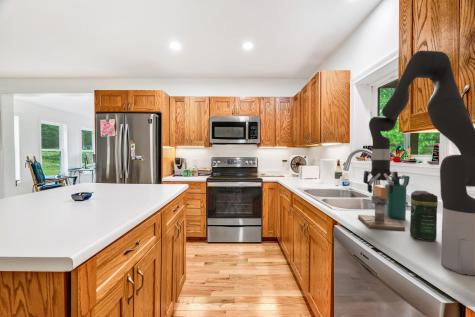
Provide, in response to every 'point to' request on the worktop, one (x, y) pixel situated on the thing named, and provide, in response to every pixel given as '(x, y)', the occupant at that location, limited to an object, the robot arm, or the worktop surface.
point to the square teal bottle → (397, 199)
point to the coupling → (380, 195)
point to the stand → (380, 220)
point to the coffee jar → (423, 215)
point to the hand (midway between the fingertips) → (380, 193)
